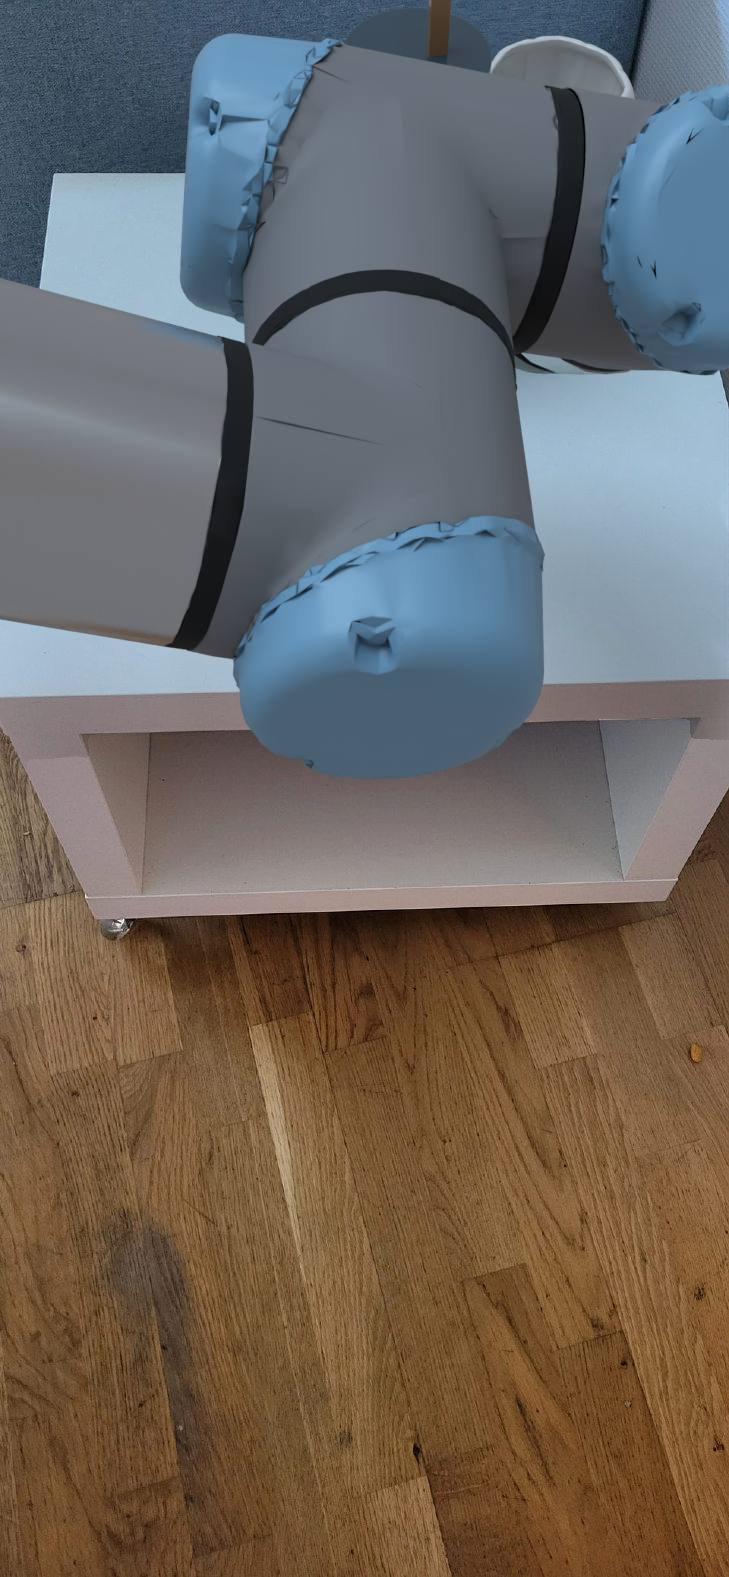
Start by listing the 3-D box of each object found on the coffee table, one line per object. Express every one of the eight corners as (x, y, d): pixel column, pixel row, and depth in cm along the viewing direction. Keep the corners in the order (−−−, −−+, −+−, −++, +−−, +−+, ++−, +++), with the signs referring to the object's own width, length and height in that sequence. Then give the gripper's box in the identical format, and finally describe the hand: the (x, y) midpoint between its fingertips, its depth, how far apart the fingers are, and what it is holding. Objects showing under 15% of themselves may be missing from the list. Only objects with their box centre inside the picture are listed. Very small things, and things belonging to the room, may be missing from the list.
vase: (641, 242, 93) (691, 55, 80) (570, 354, 88) (611, 176, 74) (486, 184, 96) (509, -6, 82) (408, 290, 91) (418, 106, 77)
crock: (355, 390, 86) (357, -126, 56) (335, 304, 90) (326, -224, 59) (471, 374, 87) (537, -143, 56) (446, 290, 91) (495, -239, 60)
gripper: (726, 148, 45) (542, 224, 67) (404, 191, 44) (324, 254, 66) (731, 349, 48) (552, 360, 70) (428, 396, 46) (343, 391, 68)
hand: (442, 309), depth 68 cm, fingers closed
